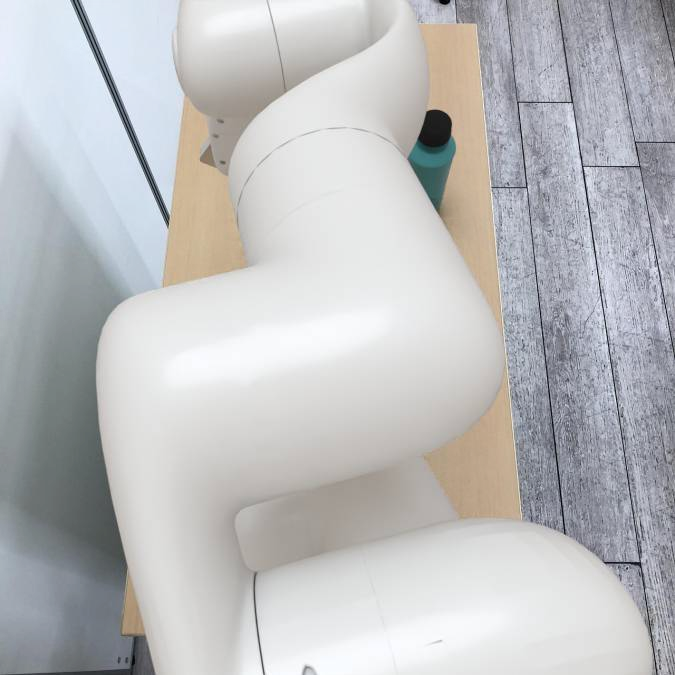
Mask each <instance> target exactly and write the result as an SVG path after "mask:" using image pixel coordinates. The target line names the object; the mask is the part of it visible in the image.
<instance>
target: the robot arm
mask: <svg viewBox="0 0 675 675" xmlns="http://www.w3.org/2000/svg"><path fill="white" fill-rule="evenodd" d="M171 51H172V52H171V53H172V61H173V63H174V70H175V75H176V77H177V81H178V83H179V86H180V88H181V90H182V92H183V94H184V95H185V96H186V97H187V98H188V100H189V102H190V103H191V104H192V106H193V107H194V108H195V109H196V111H198V113H200V114H202V115H204V116H205V118H206V124H207V131H208V137H207V139H206V141H205V142H204V143H203V145H202V146H201V147H200V151H199V162H201V163H202V164H205V165H208V166H210V167H213V168H215V169H217V171H218V172H219V173H220V174H222V175H224V176H227V177H228V178H227V180H228V182H227V184H228V193H229V198H230V202H231V206H232V209H233V214H234V218H235V222H236V226H237V230H238V234H239V238H240V244H241V246H242V251H243V256H244V260H245V264H246V267H243V268H240V269H236V270H231V271H228V272H222V273H218V274H214V275H209V276H205V277H201V278H197V279H193V280H192V279H191V280H188V281H185V282H180V283H177V284H171V285H168V286H164V287H159V288H155V289H151V290H148V291H144V292H141V293H138V294H136V295H134V296H129V297H128V298H126V299H125V300H123V301H122V302H120V303H119V304H117V306H116V307H115V308H114V309H113V310H112V311H111V313H110V314H109V315H108V317H107V319H106V321H105V323H104V324H103V326H102V328H101V332H100V336H99V340H98V343H97V351H96V352H97V353H96V360H95V361H96V362H95V386H96V401H97V414H98V426H99V434H100V441H101V442H100V443H101V448H102V453H103V459H104V466H105V469H106V475H107V476H106V477H107V481H108V486H109V491H110V497H111V501H112V506H113V510H114V513H115V518H116V522H117V527H118V532H119V535H120V539H121V540H120V541H121V544H122V549H123V553H124V557H125V561H126V565H127V569H128V573H129V576H130V580H131V584H132V587H133V591H134V595H135V598H136V602H137V606H138V610H139V615H140V618H141V622H142V627H143V630H144V634H145V637H146V642H147V646H148V650H149V653H150V654H149V655H150V657H151V661H152V666H153V670H154V675H652V673H653V663H654V662H653V659H654V658H653V648H652V644H651V640H650V635H649V630H648V628H647V625H646V623H645V619H644V618H643V616H642V613H641V611H640V608H639V607H638V604H636V602H635V599H633V597H632V595H631V593H630V592H629V590H628V589H627V588H626V586H625V585H624V584H623V583H622V582H621V580H620V579H619V578H618V576H617V575H616V574H615V572H614V571H613V570H612V569H611V568H610V567H609V566H608V565H607V564H605V562H603V561H602V560H601V559H600V558H599V557H598V556H597V554H595V553H594V552H592V551H591V550H590V549H589V548H588V547H587V548H586V547H585V546H584V545H583V544H581V543H580V542H579V541H577V540H576V539H574V538H572V537H570V536H569V535H566V534H564V533H562V532H560V531H559V530H556V529H554V528H551V527H549V526H546V525H544V524H543V525H542V524H539V523H536V522H531V521H527V520H523V519H522V520H521V519H517V518H516V519H515V518H507V517H490V516H487V517H486V516H482V517H467V518H461V516H460V515H459V513H458V512H457V510H456V508H455V507H454V505H453V504H452V502H451V500H450V499H449V497H448V495H447V494H446V491H445V490H444V488H443V486H442V485H441V484H440V482H439V480H438V478H437V477H436V475H435V473H434V471H433V469H431V467H430V465H429V463H428V462H427V460H426V459H425V457H424V456H427V455H428V454H431V453H433V452H435V451H438V450H439V449H442V448H444V447H445V446H447V445H449V444H450V443H452V442H454V441H455V440H457V439H458V438H460V437H462V436H463V435H465V434H466V433H467V432H469V431H470V430H472V429H473V428H474V427H475V426H476V425H477V424H478V423H479V422H480V420H481V419H483V417H484V416H485V415H486V414H487V413H488V412H489V411H490V410H491V409H492V407H493V405H494V404H495V401H496V399H497V397H498V395H499V393H500V392H501V389H502V387H503V382H504V376H505V371H506V351H505V350H506V349H505V348H506V347H505V344H504V339H503V338H504V337H503V335H502V332H501V329H500V326H499V324H498V321H497V318H496V317H495V314H494V311H493V309H492V307H491V304H490V303H489V301H488V299H487V297H486V296H485V294H484V292H483V290H482V288H481V286H480V285H479V283H478V282H477V280H476V278H475V276H474V274H473V272H472V271H471V269H470V267H469V266H468V264H467V262H466V260H465V258H464V257H463V254H462V253H461V251H460V249H459V247H458V246H457V244H456V242H455V241H454V239H453V237H452V235H451V234H450V232H449V230H448V228H447V226H446V224H445V223H444V221H443V220H442V218H441V216H440V215H439V213H437V211H436V210H435V208H434V206H433V204H432V203H431V201H430V199H429V197H428V196H427V194H426V192H425V190H424V188H423V187H422V185H421V183H420V181H419V180H418V178H417V176H416V174H415V173H414V171H413V169H412V167H411V165H410V163H409V161H408V160H407V158H408V156H409V154H410V153H411V151H412V149H413V147H414V145H415V143H416V141H417V139H418V136H419V134H420V131H421V128H422V126H423V123H424V119H425V115H426V111H428V106H429V100H430V89H431V88H430V87H431V78H430V76H431V74H430V65H429V57H428V52H427V46H426V42H425V39H424V34H423V31H422V28H421V25H420V21H419V20H418V17H417V15H416V12H415V11H414V8H413V7H412V5H411V4H410V2H409V1H408V0H179V4H178V12H177V22H176V25H175V27H173V29H172V34H171Z"/></svg>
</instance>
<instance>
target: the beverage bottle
mask: <svg viewBox="0 0 675 675" xmlns="http://www.w3.org/2000/svg"><path fill="white" fill-rule="evenodd" d="M452 128H453V121H452V118H451V116H450V115H449V114H448V113H447V112H445V111H443V110H441V109H437V108H435V109H428V110H427V111H426V115H425V119H424V123H423V126H422V128H421V131H420V134H419V136H418V139H417V141H416V143H415V145H414V147H413V149H412V151H411V153H410V154H409V156H408V158H407V160H408V161H409V163H410V165H411V167H412V169H413V171H414V173H415V174H416V176H417V178H418V180H419V181H420V183H421V185H422V187H423V188H424V190H425V192H426V194H427V196H428V197H429V199H430V201H431V203H432V204H433V206H434V208H435V210H436V211H437V213H438V214H439V213H440V210H441V207H442V203H443V200H444V196H445V194H446V193H445V192H446V189H447V188H446V187H447V183H448V178H449V175H450V172H451V167H452V165H453V164H452V163H453V161H454V157H455V155H456V152H457V144H456V143H457V142H456V141H455V138H454V136H453V135H452V132H453V131H452V130H453V129H452Z"/></svg>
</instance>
